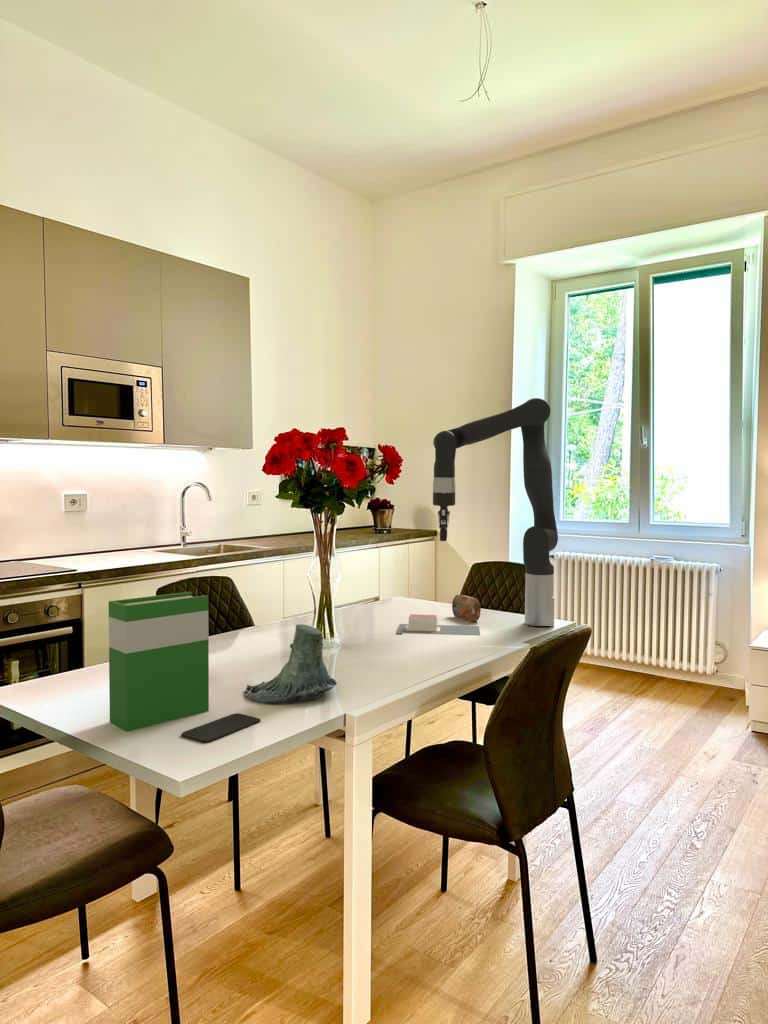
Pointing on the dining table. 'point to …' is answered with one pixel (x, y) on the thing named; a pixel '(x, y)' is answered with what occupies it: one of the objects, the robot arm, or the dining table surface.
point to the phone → (220, 728)
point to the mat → (442, 630)
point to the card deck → (423, 622)
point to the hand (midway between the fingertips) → (443, 539)
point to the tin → (466, 608)
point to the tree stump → (297, 673)
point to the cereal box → (158, 659)
